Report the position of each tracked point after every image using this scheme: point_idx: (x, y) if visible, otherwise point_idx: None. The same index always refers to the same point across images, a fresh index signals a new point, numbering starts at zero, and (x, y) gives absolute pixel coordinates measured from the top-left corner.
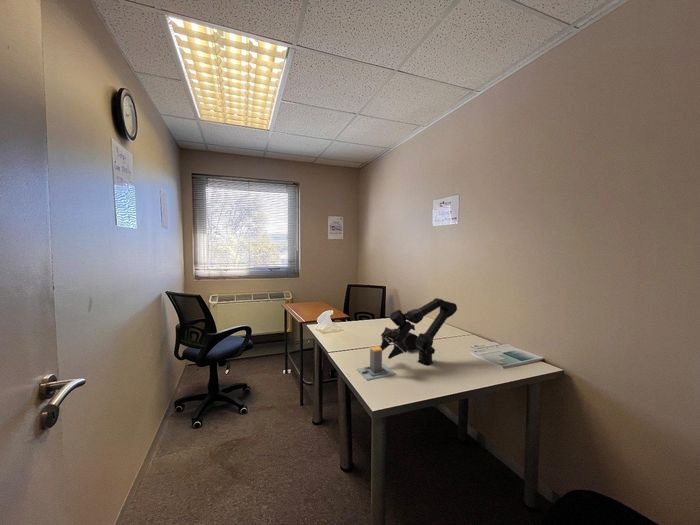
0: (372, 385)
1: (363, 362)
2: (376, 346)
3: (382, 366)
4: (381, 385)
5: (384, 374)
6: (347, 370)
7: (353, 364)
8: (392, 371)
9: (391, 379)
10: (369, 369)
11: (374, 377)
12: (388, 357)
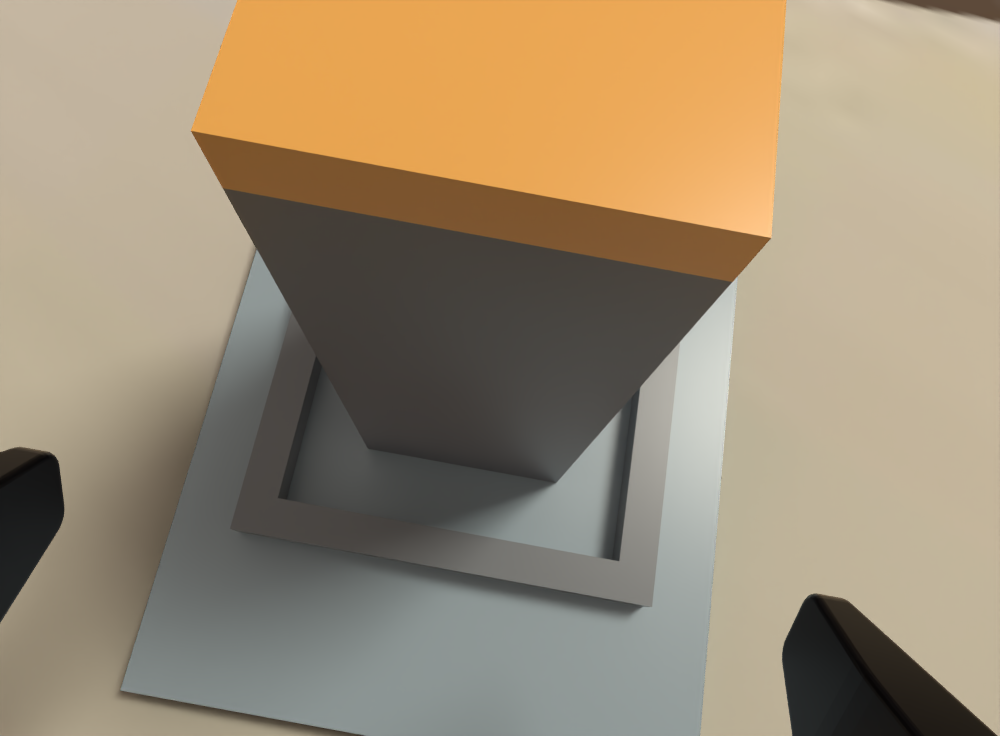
0: (133, 48)
1: (994, 450)
2: (743, 123)
3: (587, 660)
4: (26, 156)
5: (249, 428)
6: (793, 30)
7: (976, 232)
8: (238, 692)
9: (46, 449)
10: None
11: None
12: (7, 450)
